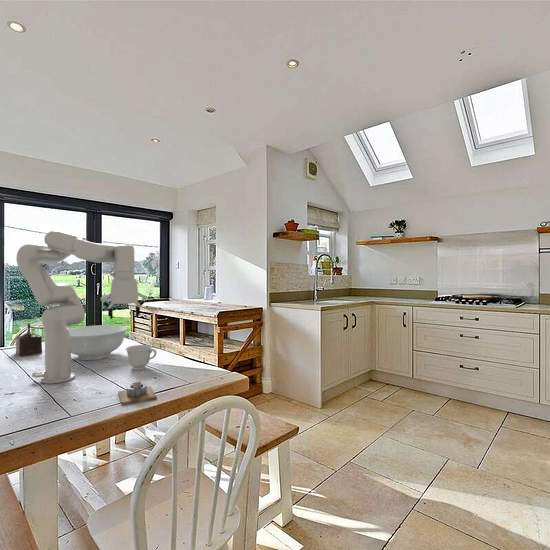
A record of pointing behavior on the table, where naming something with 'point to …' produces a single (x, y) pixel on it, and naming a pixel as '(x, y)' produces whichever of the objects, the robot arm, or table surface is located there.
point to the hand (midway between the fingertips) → (124, 317)
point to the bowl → (96, 341)
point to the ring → (136, 390)
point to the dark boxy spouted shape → (29, 343)
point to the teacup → (140, 356)
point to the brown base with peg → (128, 400)
